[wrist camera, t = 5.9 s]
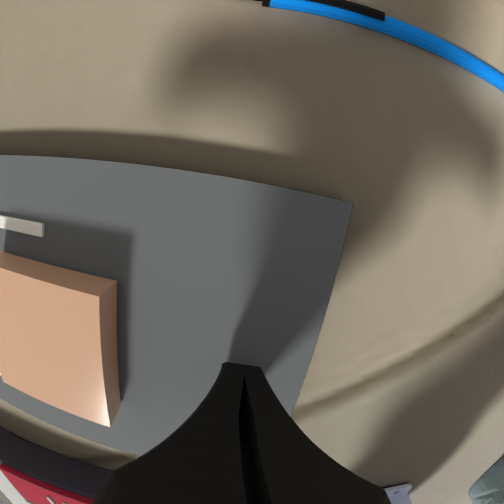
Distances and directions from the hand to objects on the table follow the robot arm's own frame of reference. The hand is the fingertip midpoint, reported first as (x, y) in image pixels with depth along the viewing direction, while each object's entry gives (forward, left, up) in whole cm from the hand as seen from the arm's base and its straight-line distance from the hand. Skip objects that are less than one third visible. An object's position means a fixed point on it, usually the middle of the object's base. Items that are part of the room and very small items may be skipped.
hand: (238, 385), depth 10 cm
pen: (-7, -15, -2) cm, 17 cm away
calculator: (+12, +18, -2) cm, 22 cm away
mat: (+6, 0, -2) cm, 7 cm away
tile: (+5, 0, 0) cm, 5 cm away
